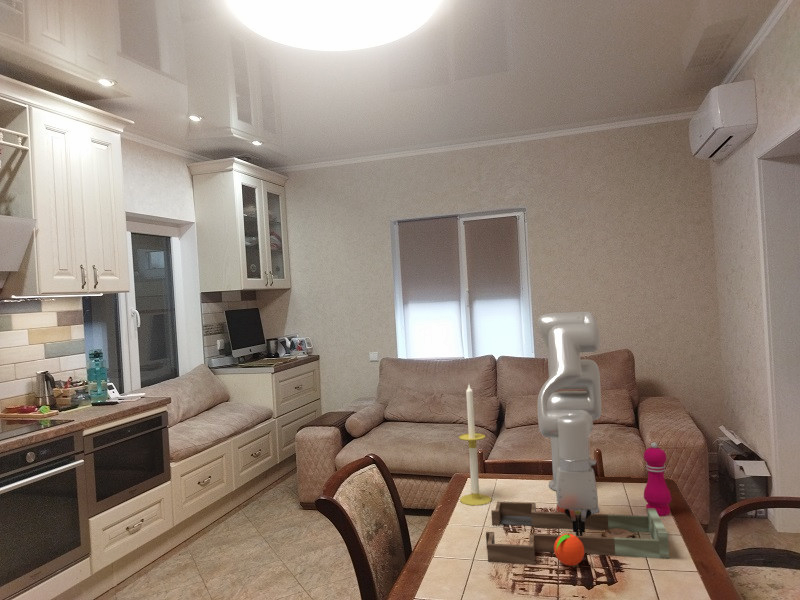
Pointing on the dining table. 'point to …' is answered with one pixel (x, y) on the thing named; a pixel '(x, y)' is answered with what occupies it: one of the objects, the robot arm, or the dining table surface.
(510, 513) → the channel
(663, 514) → the pepper mill
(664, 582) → the dining table surface
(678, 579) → the dining table surface
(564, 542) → the clementine
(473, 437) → the candle
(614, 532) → the cookie
